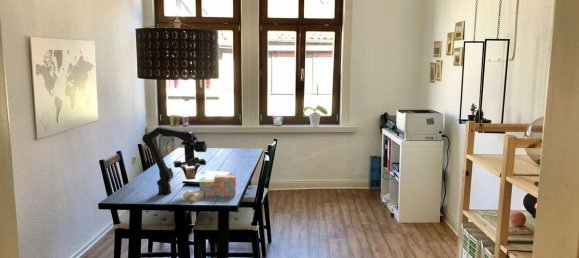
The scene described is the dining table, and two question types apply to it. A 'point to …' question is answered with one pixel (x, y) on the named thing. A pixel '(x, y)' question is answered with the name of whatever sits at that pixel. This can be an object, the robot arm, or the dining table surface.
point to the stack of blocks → (219, 186)
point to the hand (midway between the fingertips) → (190, 176)
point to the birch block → (193, 195)
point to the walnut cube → (190, 173)
